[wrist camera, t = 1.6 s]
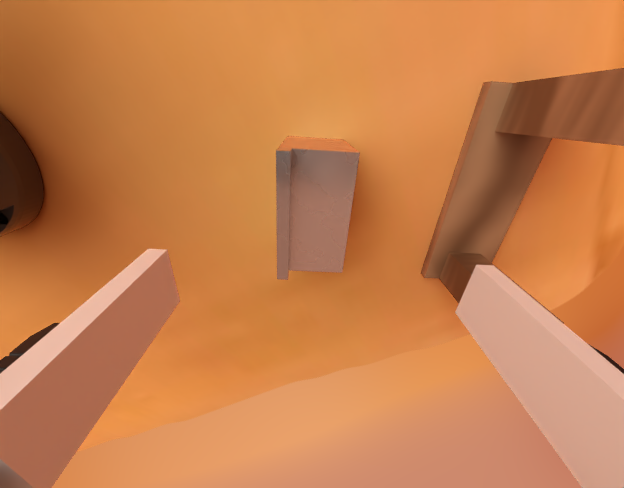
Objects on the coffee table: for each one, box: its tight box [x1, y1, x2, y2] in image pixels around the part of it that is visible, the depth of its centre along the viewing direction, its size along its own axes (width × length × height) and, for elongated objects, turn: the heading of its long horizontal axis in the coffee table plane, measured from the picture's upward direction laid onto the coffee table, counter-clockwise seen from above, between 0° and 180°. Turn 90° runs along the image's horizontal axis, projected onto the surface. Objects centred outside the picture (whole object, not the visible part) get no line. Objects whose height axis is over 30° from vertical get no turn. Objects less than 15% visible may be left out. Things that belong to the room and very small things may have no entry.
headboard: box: [421, 68, 624, 324], centre depth 19 cm, size 7×19×14 cm, turn 176°
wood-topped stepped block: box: [276, 136, 360, 280], centre depth 20 cm, size 5×9×9 cm, turn 177°
